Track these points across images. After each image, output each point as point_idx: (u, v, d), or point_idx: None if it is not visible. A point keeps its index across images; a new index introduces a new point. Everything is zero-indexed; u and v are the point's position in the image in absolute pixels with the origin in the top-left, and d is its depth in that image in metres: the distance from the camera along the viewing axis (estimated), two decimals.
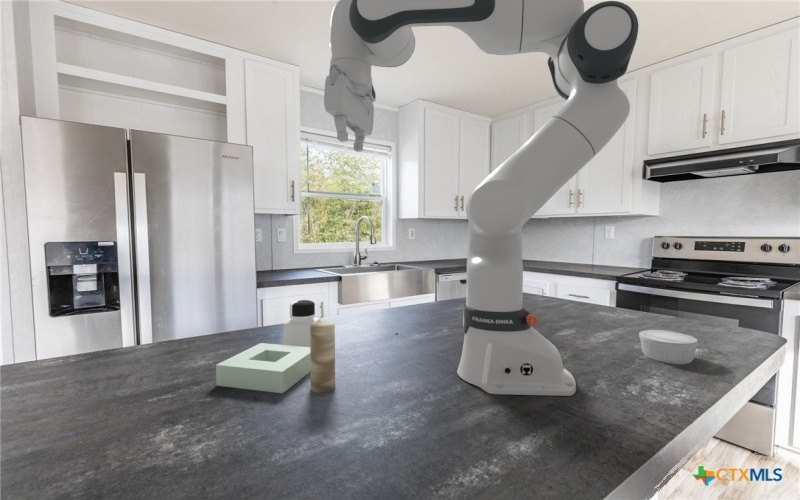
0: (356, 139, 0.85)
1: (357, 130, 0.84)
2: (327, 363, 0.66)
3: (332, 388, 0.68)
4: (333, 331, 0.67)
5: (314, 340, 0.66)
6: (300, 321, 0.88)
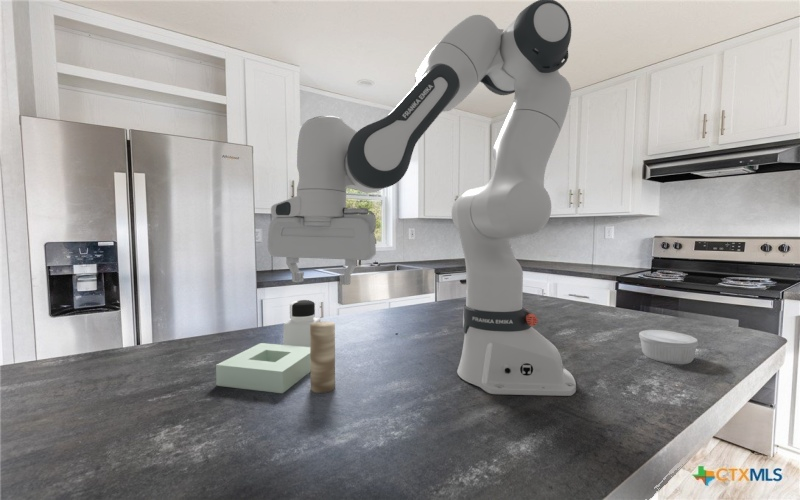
0: (293, 267, 0.68)
1: None
2: (327, 363, 0.66)
3: (332, 388, 0.68)
4: (333, 331, 0.67)
5: (314, 340, 0.66)
6: (300, 321, 0.88)
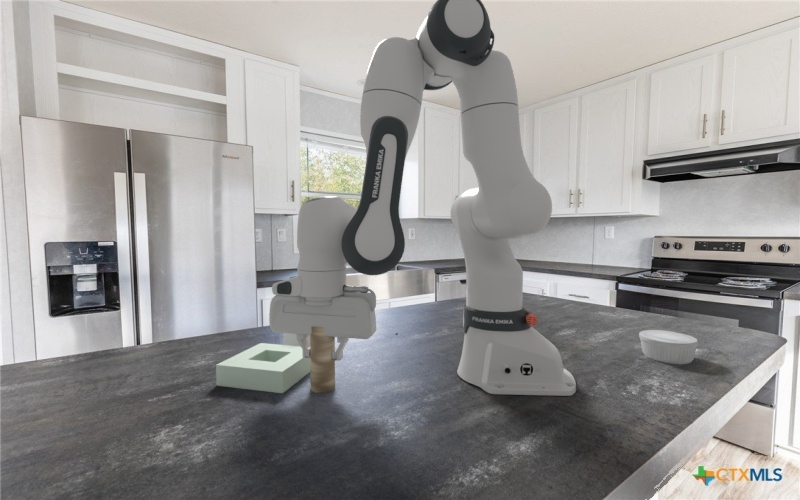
0: (303, 342, 0.68)
1: None
2: (327, 363, 0.66)
3: (332, 388, 0.68)
4: None
5: (314, 340, 0.66)
6: None
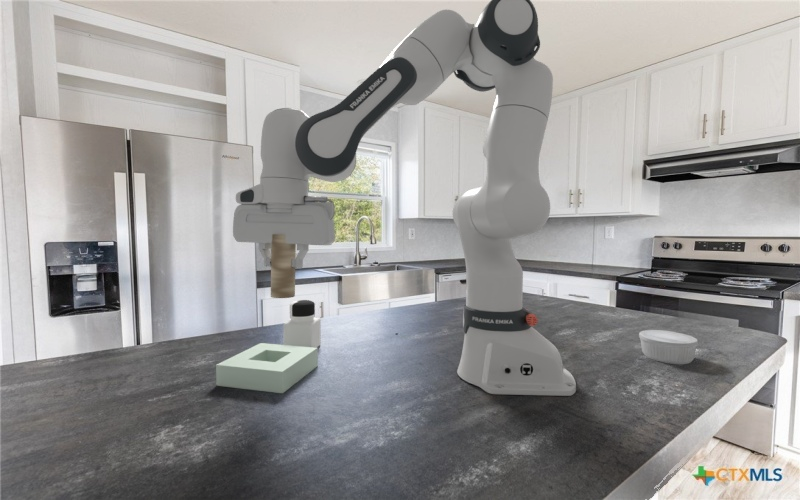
0: (265, 252, 0.71)
1: None
2: (286, 270, 0.69)
3: (291, 295, 0.70)
4: None
5: (274, 246, 0.69)
6: (300, 321, 0.88)
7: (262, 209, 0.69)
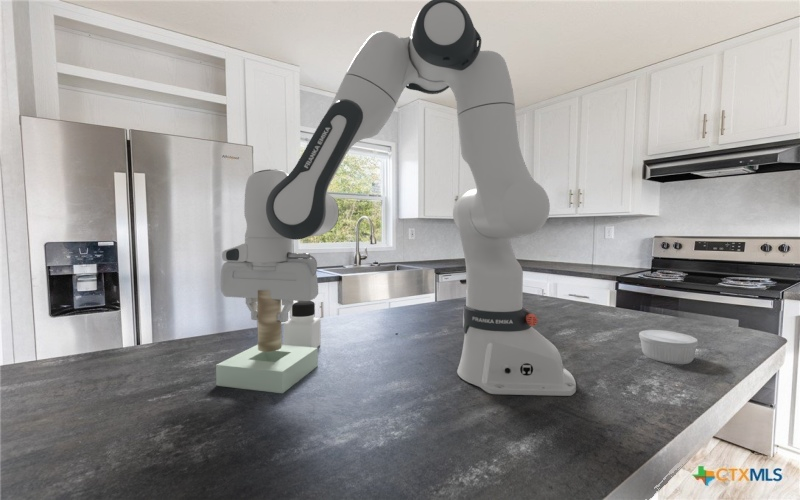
0: (251, 306, 0.74)
1: None
2: (272, 324, 0.72)
3: (277, 348, 0.73)
4: None
5: (260, 302, 0.72)
6: (300, 321, 0.88)
7: (247, 266, 0.72)
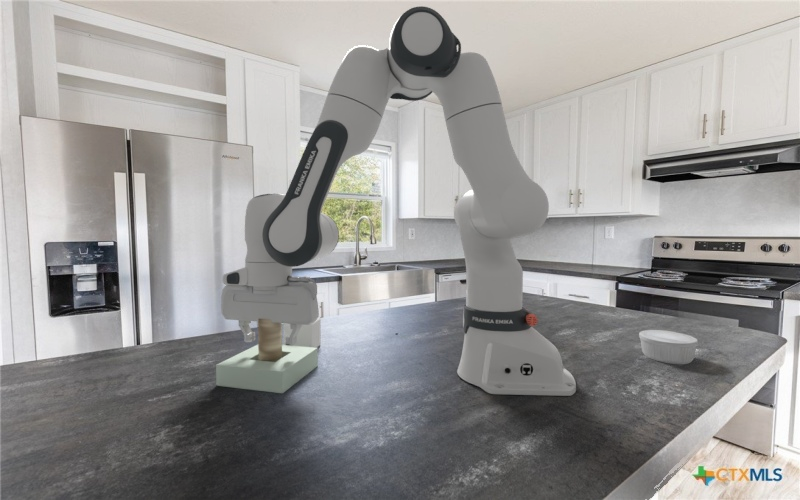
0: (244, 328, 0.75)
1: None
2: (273, 352, 0.72)
3: None
4: (279, 323, 0.73)
5: (261, 330, 0.72)
6: None
7: (248, 290, 0.72)
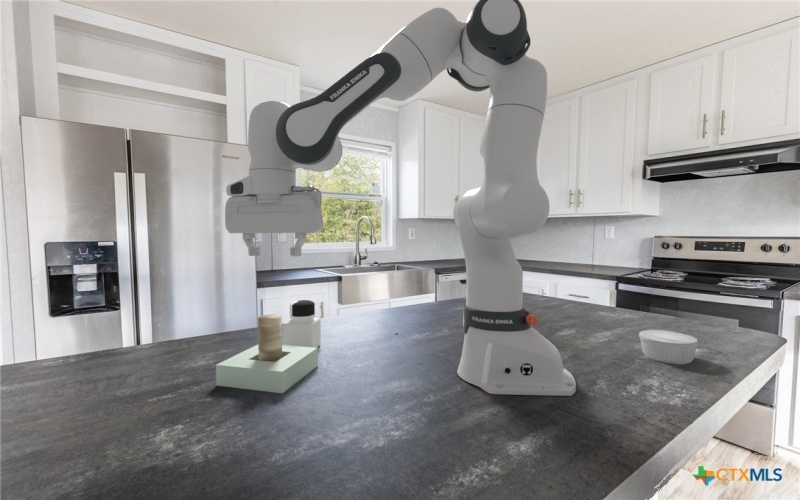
0: (249, 242, 0.74)
1: (250, 232, 0.74)
2: (273, 352, 0.72)
3: None
4: (279, 323, 0.73)
5: (261, 330, 0.72)
6: (300, 321, 0.88)
7: (252, 200, 0.72)
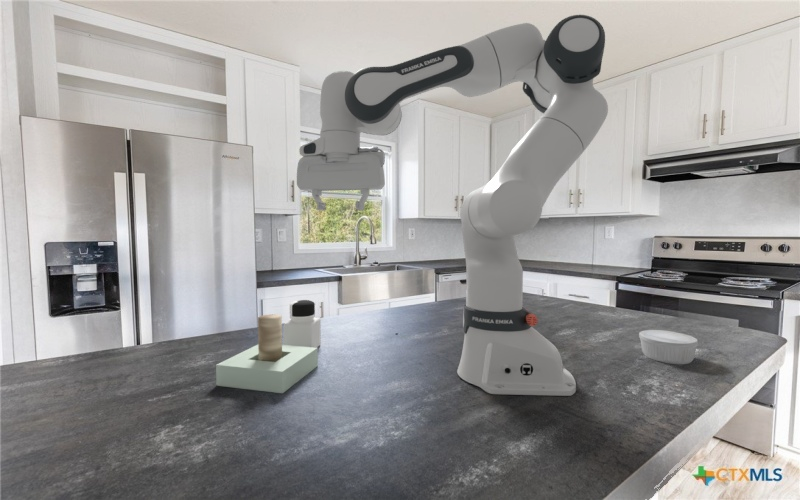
0: (317, 197, 0.84)
1: None
2: (273, 352, 0.72)
3: None
4: (279, 323, 0.73)
5: (261, 330, 0.72)
6: (300, 321, 0.88)
7: (322, 159, 0.81)
